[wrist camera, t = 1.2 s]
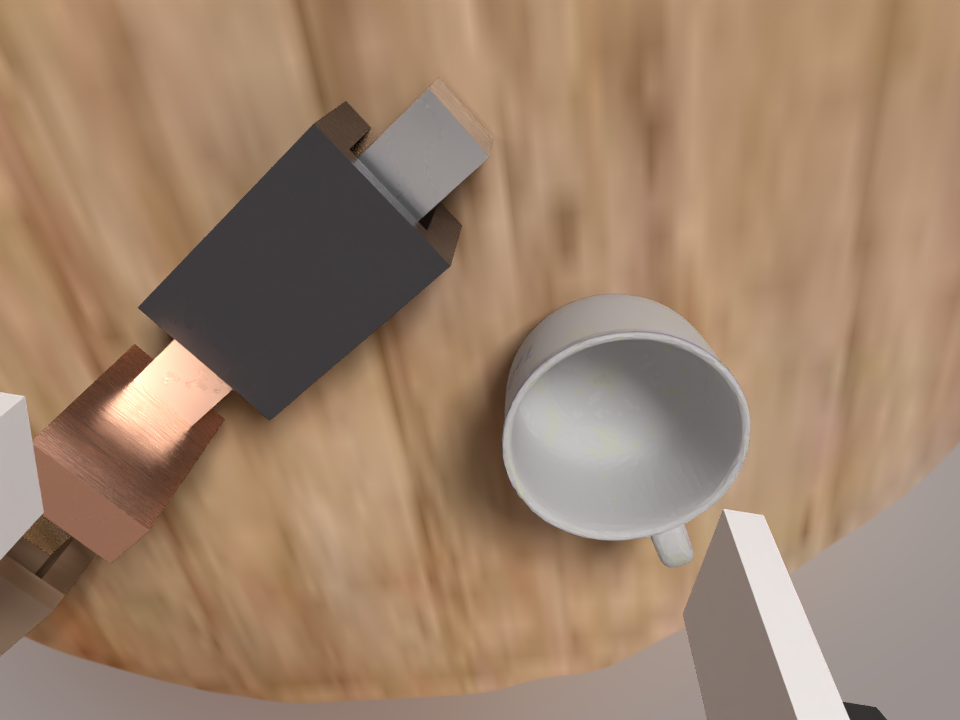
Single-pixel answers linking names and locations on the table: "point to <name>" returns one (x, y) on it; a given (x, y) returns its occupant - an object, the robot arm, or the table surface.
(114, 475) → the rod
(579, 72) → the table surface
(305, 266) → the sleeve
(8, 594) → the socket
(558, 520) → the teacup
